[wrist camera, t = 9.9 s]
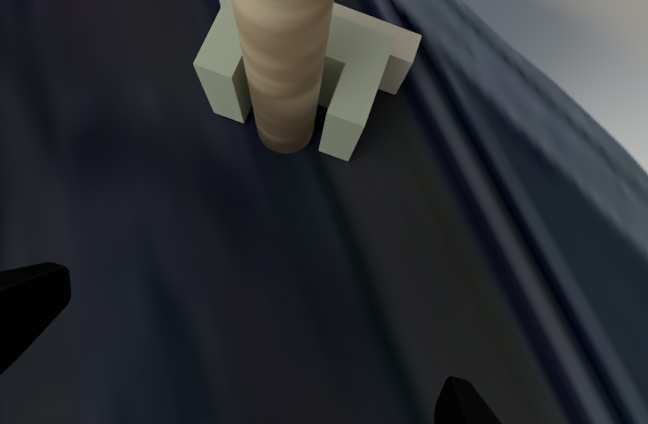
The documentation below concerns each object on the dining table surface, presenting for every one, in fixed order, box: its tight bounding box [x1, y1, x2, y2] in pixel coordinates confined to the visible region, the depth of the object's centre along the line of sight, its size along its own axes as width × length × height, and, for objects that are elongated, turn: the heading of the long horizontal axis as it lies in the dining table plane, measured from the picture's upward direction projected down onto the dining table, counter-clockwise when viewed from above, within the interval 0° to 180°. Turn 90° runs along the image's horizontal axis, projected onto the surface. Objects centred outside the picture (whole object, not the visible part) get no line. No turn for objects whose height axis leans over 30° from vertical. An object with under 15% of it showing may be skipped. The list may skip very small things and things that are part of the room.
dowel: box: [231, 0, 334, 154], centre depth 16 cm, size 4×4×13 cm
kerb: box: [219, 0, 422, 95], centre depth 22 cm, size 2×12×4 cm, turn 71°
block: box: [193, 0, 395, 161], centre depth 21 cm, size 6×9×5 cm, turn 71°
